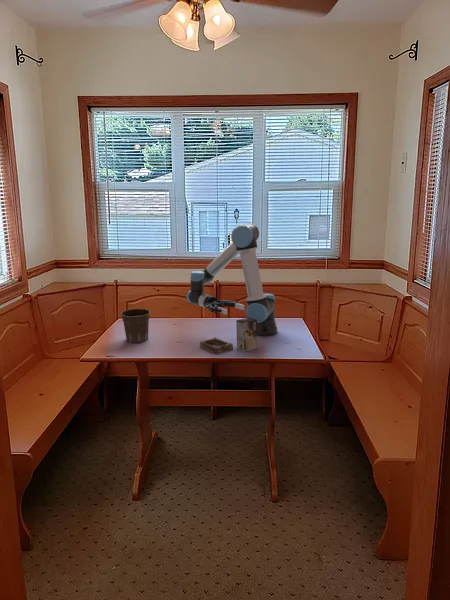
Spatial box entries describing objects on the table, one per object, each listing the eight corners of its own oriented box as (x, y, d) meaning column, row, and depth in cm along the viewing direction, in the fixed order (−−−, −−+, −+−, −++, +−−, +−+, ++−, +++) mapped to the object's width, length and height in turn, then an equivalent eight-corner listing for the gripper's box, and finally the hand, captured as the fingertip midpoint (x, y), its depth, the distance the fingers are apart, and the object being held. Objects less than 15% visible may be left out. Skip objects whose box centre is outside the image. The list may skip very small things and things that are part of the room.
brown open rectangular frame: (215, 342, 244) (215, 337, 243) (233, 349, 233) (233, 343, 232) (199, 346, 237) (198, 341, 236) (217, 354, 226) (217, 348, 225)
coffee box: (249, 345, 238) (249, 316, 234) (257, 348, 233) (257, 319, 229) (236, 349, 233) (236, 319, 229) (243, 352, 228) (243, 322, 224)
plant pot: (145, 345, 240) (143, 316, 236) (117, 343, 243) (115, 315, 240) (155, 336, 256) (154, 309, 252) (129, 334, 259) (128, 308, 255)
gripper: (223, 304, 259) (250, 312, 245) (191, 311, 241) (218, 321, 227) (223, 292, 257) (251, 299, 243) (191, 298, 239) (219, 307, 225)
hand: (235, 310), depth 235 cm, fingers open, 13 cm apart
